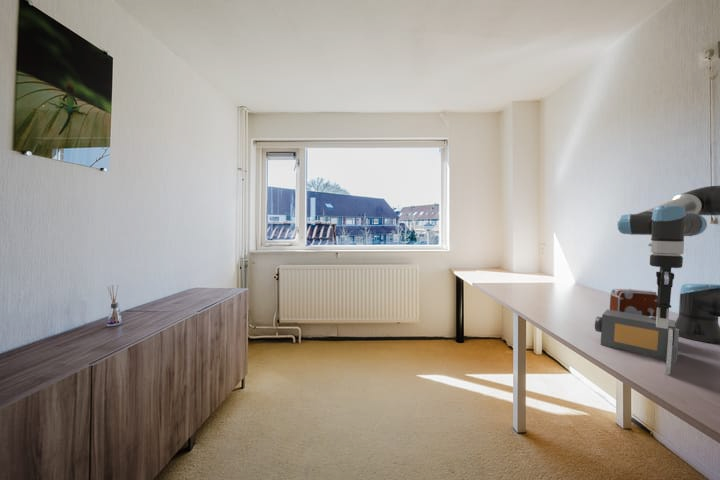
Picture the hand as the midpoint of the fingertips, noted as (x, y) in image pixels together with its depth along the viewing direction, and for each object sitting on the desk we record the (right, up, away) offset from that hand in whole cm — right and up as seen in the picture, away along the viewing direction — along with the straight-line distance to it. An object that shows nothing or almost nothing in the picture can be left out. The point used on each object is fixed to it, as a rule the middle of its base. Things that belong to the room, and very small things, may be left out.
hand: (661, 327), depth 101 cm
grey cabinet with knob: (+8, -13, +19) cm, 24 cm away
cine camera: (+21, -13, +33) cm, 41 cm away
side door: (+4, -13, +2) cm, 14 cm away
